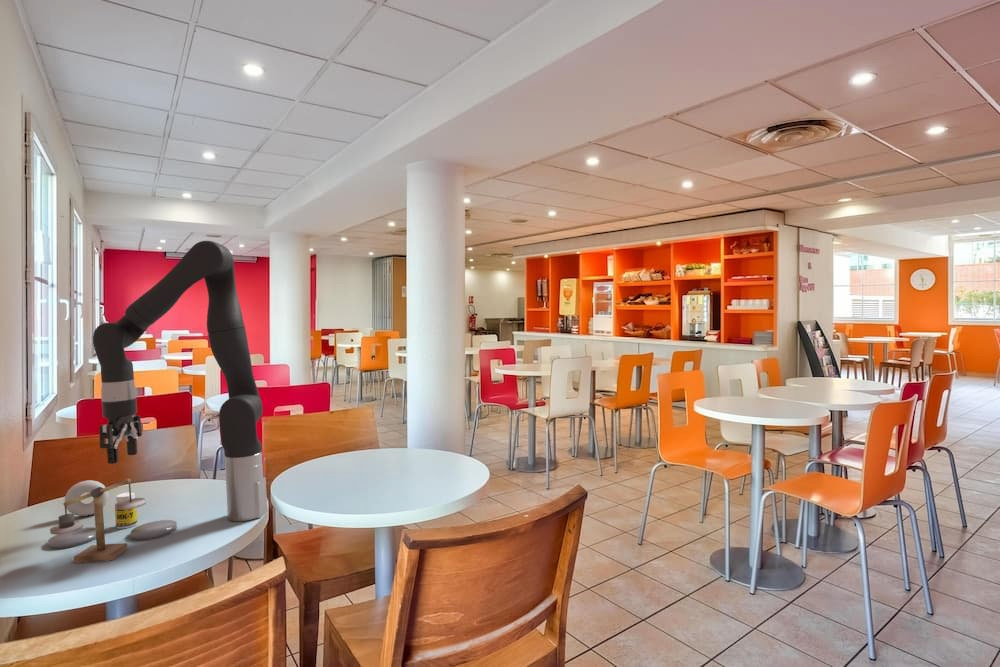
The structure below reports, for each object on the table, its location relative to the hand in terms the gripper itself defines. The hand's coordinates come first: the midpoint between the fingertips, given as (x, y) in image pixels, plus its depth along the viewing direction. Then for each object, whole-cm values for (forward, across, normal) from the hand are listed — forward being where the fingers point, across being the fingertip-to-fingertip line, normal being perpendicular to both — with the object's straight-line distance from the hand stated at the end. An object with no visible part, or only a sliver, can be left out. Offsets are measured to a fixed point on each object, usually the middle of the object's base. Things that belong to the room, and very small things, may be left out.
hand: (123, 458), depth 144 cm
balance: (+18, -19, -5) cm, 27 cm away
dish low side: (+18, -8, +8) cm, 21 cm away
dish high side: (+18, -6, -10) cm, 21 cm away
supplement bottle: (+18, 0, 0) cm, 18 cm away
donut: (+18, +10, +16) cm, 26 cm away
